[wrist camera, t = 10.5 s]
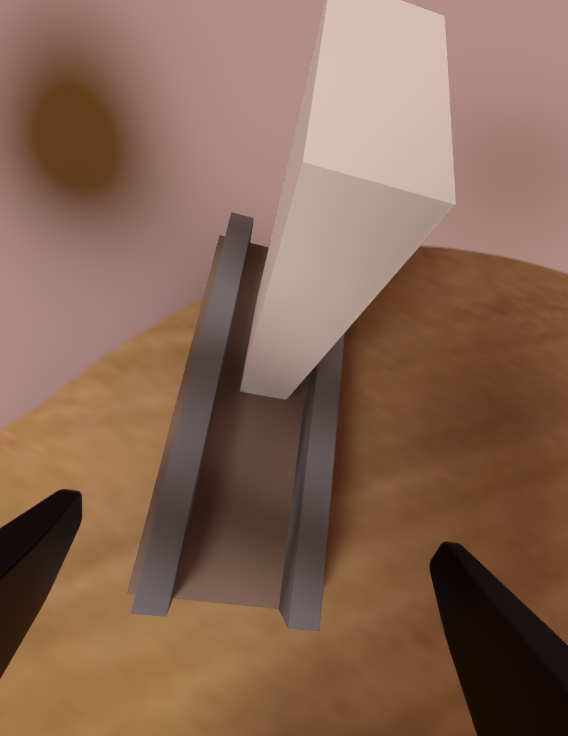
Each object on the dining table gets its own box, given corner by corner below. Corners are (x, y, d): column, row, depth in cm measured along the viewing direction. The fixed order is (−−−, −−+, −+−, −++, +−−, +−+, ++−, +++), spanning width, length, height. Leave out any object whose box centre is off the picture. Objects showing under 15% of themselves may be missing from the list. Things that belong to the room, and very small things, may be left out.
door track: (310, 601, 16) (334, 632, 13) (135, 582, 15) (112, 611, 11) (340, 281, 22) (362, 246, 19) (219, 251, 21) (220, 209, 18)
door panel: (286, 399, 17) (456, 204, 5) (239, 391, 17) (303, 161, 5) (297, 314, 19) (444, 16, 7) (255, 305, 19) (331, -26, 6)
